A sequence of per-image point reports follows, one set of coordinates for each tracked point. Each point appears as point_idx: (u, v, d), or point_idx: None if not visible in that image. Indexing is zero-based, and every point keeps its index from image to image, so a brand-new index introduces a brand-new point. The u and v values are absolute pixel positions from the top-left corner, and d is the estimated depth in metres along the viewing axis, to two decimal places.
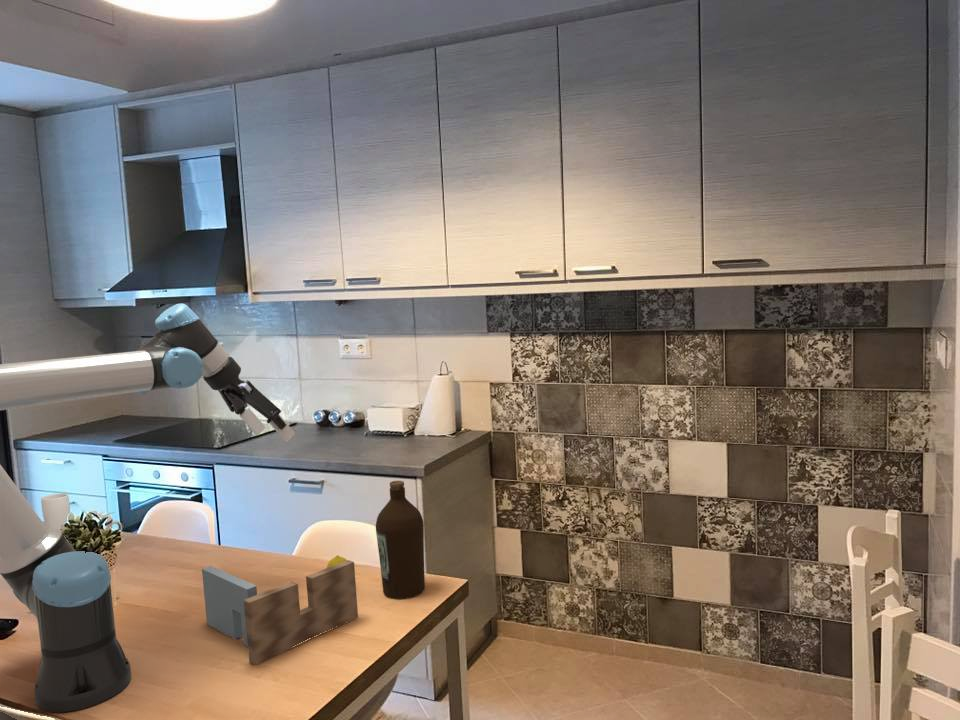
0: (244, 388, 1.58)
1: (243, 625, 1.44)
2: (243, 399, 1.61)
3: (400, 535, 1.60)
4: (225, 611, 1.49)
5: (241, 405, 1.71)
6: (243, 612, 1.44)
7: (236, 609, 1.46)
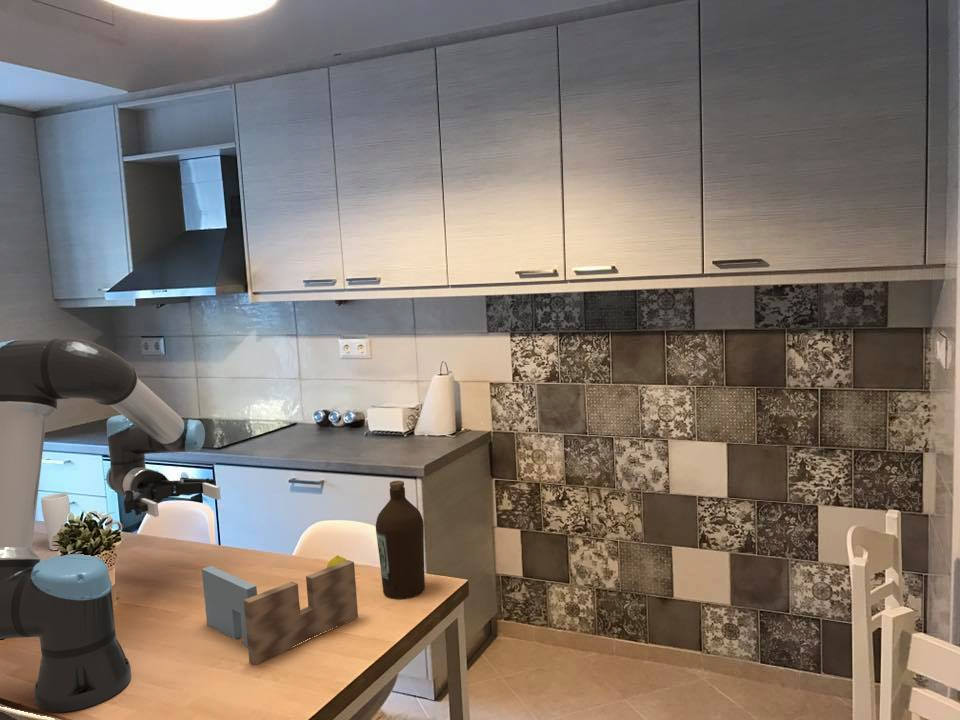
0: None
1: (243, 625, 1.44)
2: None
3: (400, 535, 1.60)
4: (225, 611, 1.49)
5: None
6: (243, 612, 1.44)
7: (236, 609, 1.46)
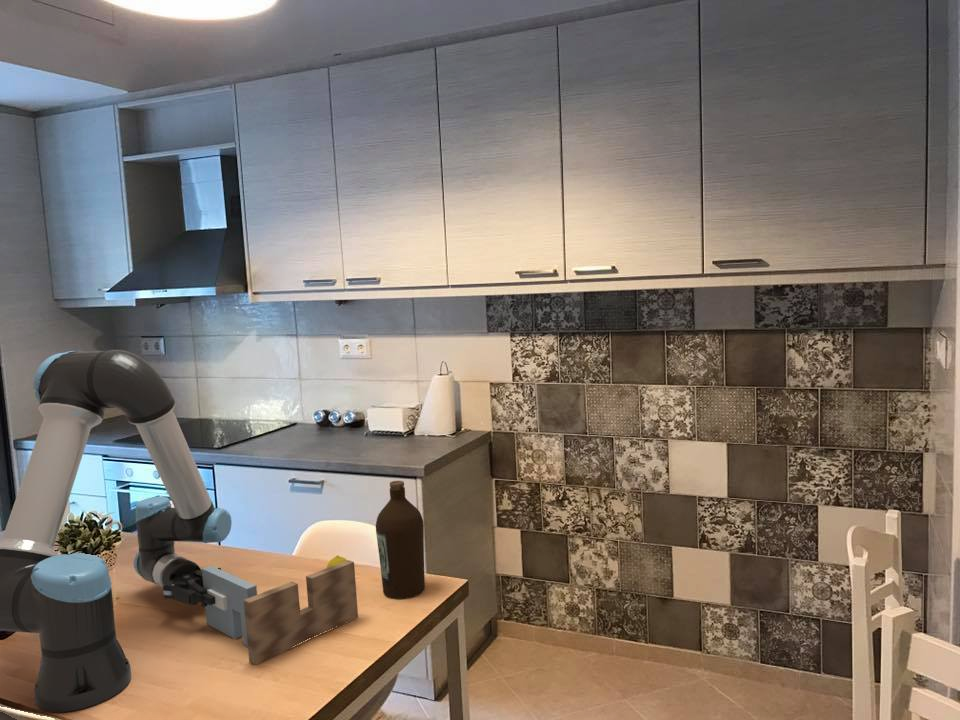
0: None
1: (243, 625, 1.44)
2: None
3: (400, 535, 1.60)
4: (225, 610, 1.49)
5: None
6: (243, 612, 1.44)
7: (236, 609, 1.46)
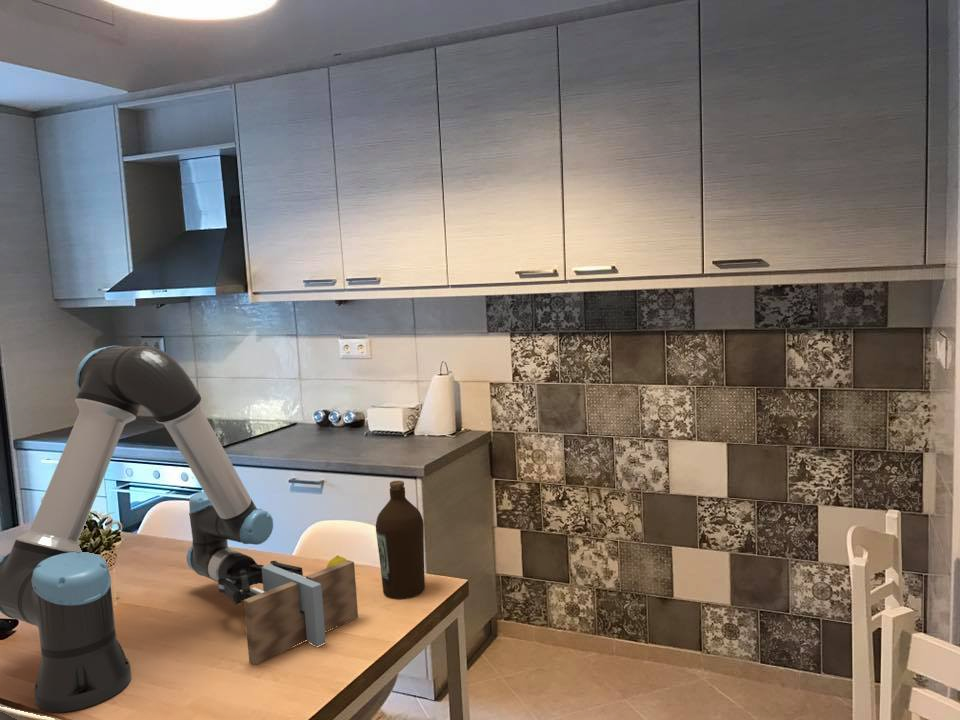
0: None
1: (307, 623, 1.44)
2: None
3: (400, 535, 1.60)
4: None
5: None
6: (307, 610, 1.43)
7: (300, 607, 1.45)
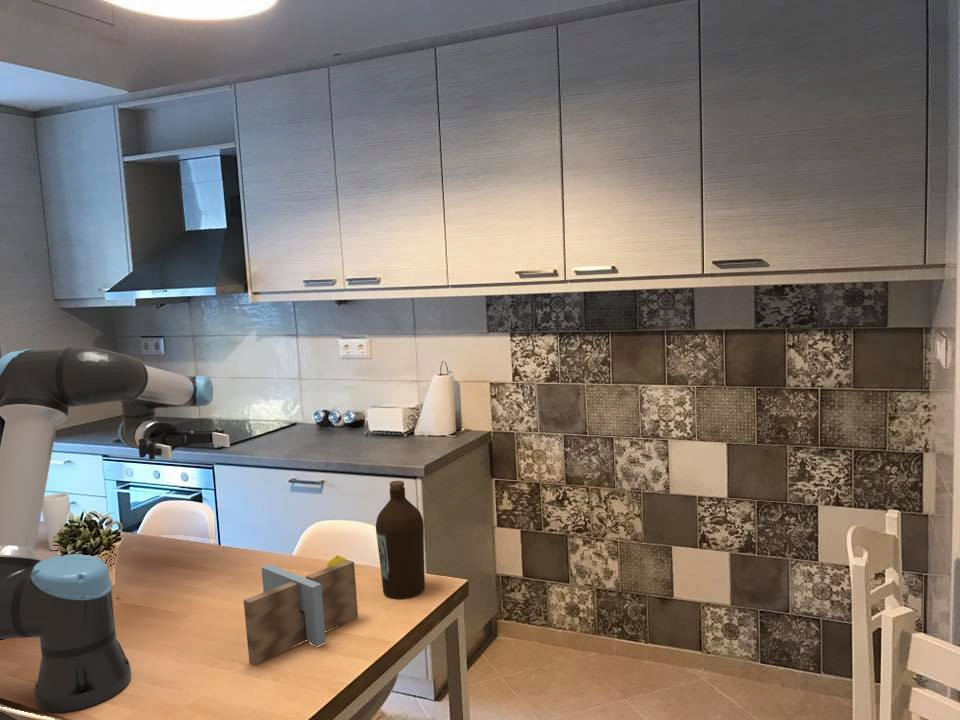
0: None
1: (307, 623, 1.44)
2: None
3: (400, 535, 1.60)
4: None
5: None
6: (307, 610, 1.43)
7: (300, 607, 1.45)
